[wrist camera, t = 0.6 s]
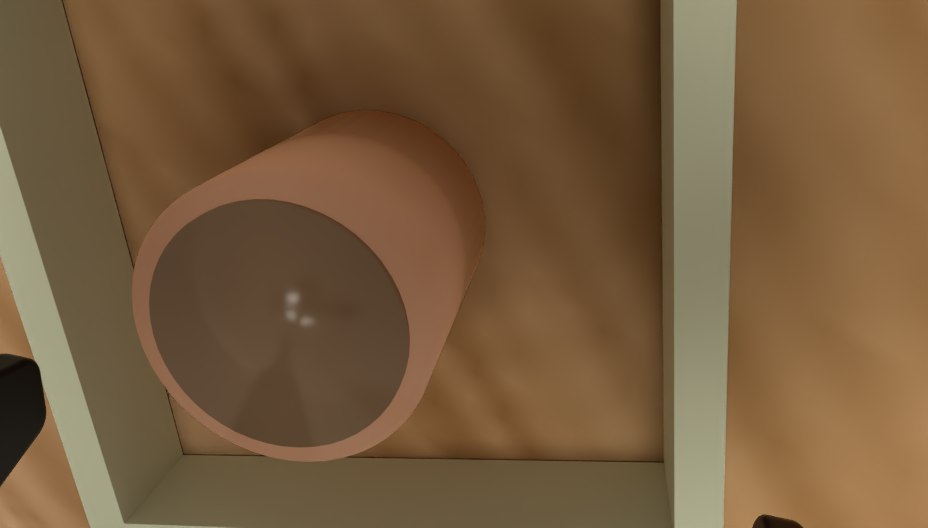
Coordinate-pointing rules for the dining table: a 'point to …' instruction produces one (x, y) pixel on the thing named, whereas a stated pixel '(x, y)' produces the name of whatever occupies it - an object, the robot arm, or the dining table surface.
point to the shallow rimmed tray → (346, 479)
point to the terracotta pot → (311, 285)
